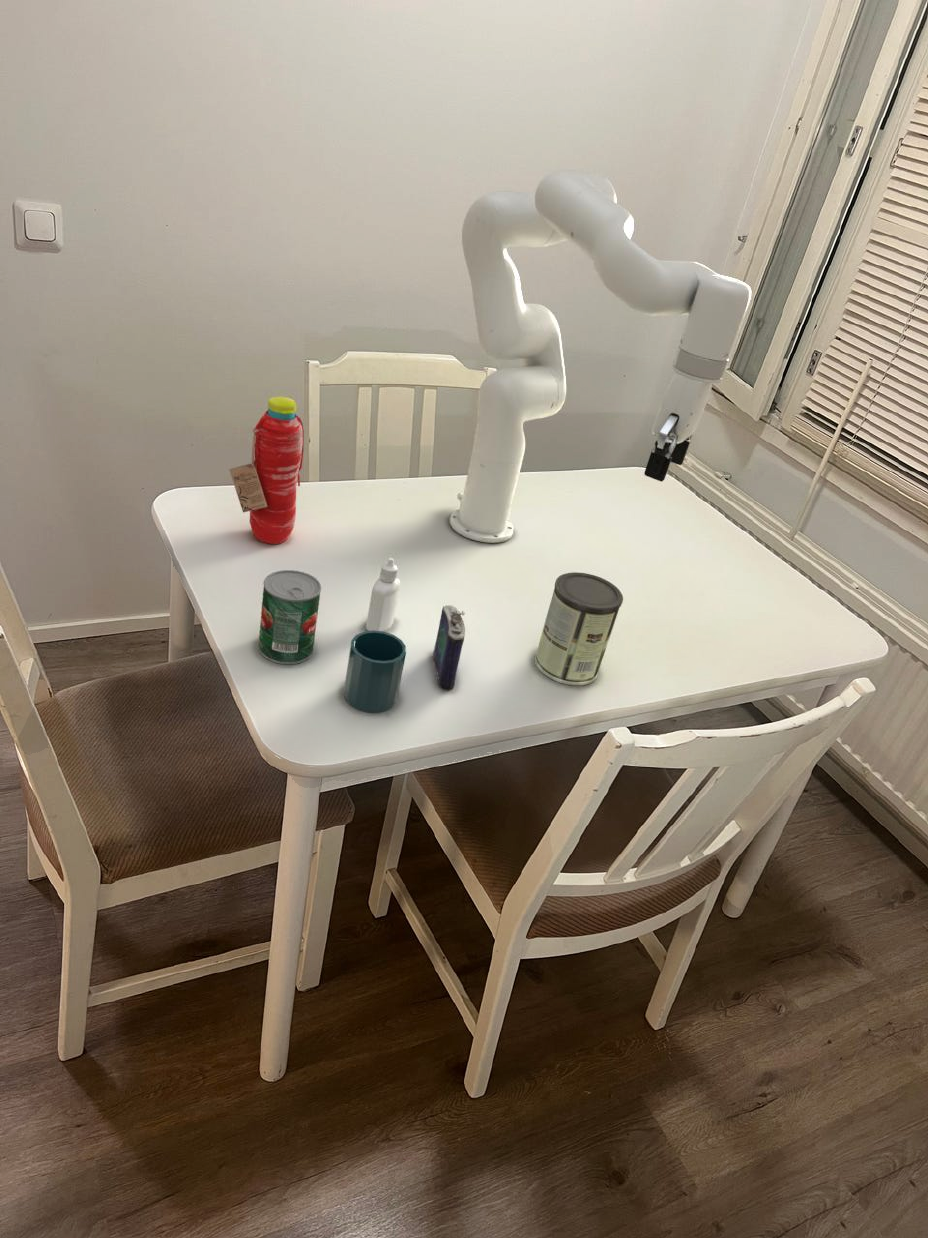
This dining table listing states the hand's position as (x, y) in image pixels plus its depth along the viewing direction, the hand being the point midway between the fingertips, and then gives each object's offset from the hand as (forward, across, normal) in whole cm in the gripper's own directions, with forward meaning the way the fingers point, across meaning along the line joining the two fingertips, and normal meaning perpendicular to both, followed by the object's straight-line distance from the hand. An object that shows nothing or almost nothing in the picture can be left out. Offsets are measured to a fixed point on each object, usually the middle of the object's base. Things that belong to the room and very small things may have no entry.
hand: (663, 469), depth 142 cm
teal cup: (+28, +49, -19) cm, 59 cm away
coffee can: (+28, +21, 0) cm, 35 cm away
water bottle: (+28, +25, -57) cm, 68 cm away
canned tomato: (+28, +48, -34) cm, 65 cm away
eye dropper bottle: (+28, +33, -27) cm, 51 cm away
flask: (+28, +36, -14) cm, 48 cm away
